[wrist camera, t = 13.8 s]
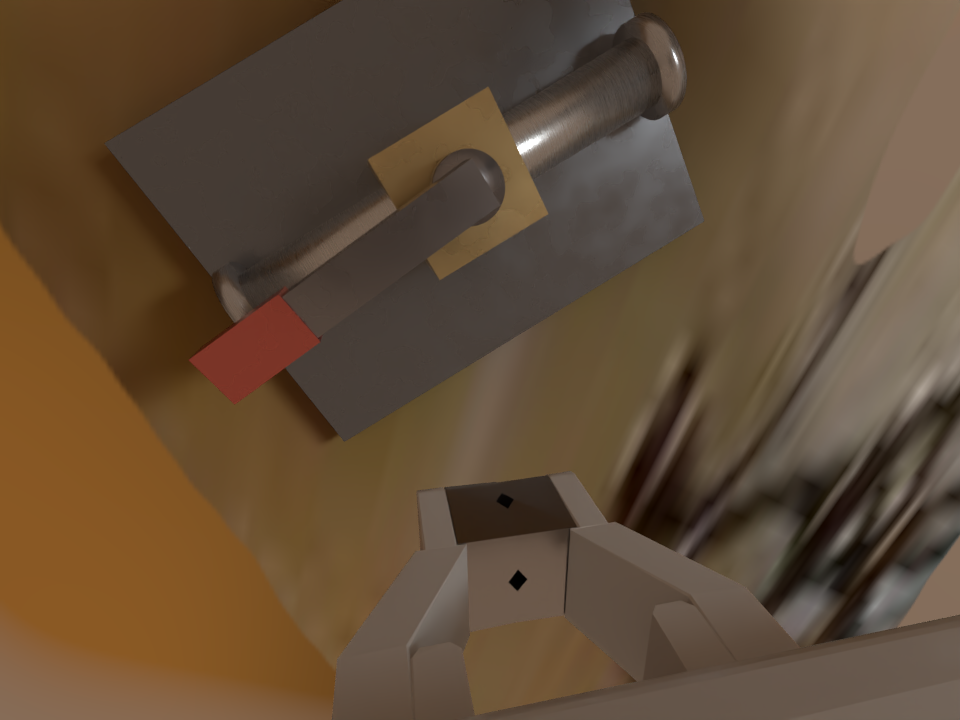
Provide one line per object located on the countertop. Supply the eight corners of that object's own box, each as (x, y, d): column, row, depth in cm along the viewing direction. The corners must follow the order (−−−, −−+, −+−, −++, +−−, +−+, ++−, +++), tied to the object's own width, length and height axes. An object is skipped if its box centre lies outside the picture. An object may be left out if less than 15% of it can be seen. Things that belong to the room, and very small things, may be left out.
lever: (473, 135, 25) (488, 128, 22) (510, 197, 26) (530, 199, 23) (205, 331, 25) (181, 353, 22) (256, 383, 27) (240, 410, 23)
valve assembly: (570, -128, 28) (633, -224, 22) (691, 219, 37) (763, 227, 30) (117, 145, 28) (39, 132, 21) (345, 431, 36) (340, 486, 30)
